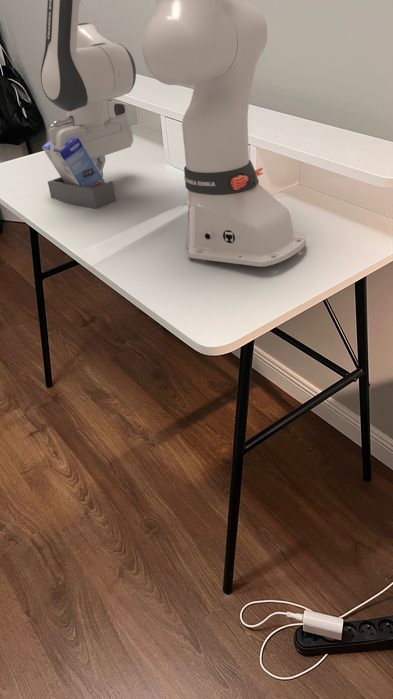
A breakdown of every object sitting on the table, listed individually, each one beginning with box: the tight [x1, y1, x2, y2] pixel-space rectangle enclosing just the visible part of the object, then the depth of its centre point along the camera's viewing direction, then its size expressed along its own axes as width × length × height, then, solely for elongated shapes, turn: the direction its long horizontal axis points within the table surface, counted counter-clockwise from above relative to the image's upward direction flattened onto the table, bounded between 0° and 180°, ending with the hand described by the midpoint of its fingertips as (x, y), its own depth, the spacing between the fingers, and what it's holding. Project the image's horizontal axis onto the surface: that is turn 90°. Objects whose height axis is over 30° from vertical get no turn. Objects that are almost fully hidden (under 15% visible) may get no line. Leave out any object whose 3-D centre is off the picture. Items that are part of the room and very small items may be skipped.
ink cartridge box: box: [41, 137, 106, 188], centre depth 131 cm, size 10×6×14 cm, turn 34°
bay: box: [47, 176, 117, 209], centre depth 132 cm, size 14×6×4 cm, turn 50°
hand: (98, 178), depth 136 cm, fingers closed, pressing on ink cartridge box
